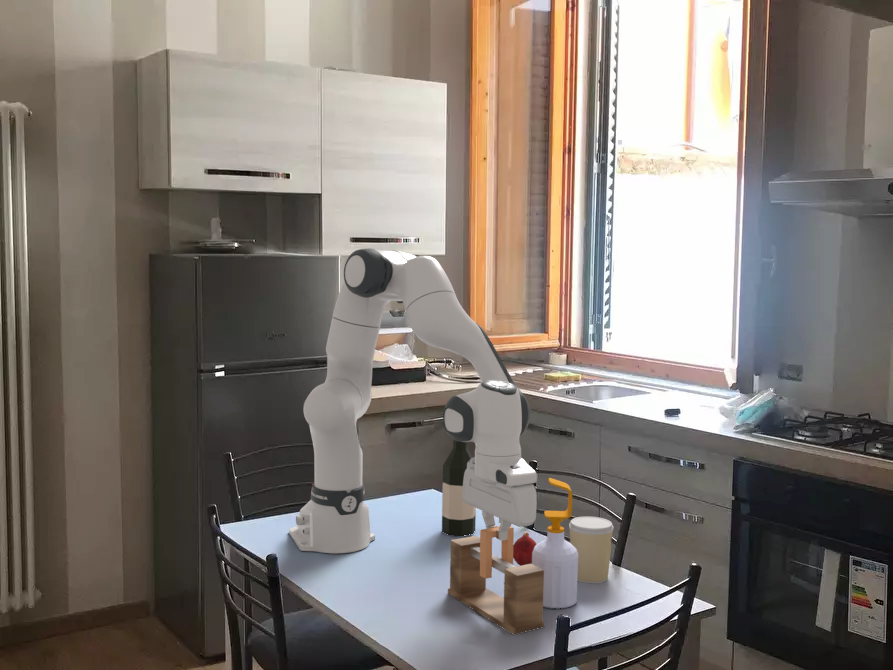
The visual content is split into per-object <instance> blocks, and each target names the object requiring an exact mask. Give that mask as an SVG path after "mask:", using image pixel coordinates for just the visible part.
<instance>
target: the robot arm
mask: <svg viewBox="0 0 893 670" xmlns="http://www.w3.org/2000/svg"><path fill="white" fill-rule="evenodd" d="M345 261H346V262H345V264H344V267H343V283H342V285H341V288H340V291H339V292H338V295H337V298H336V302H335V304H334V308H333V312H332V317H331V322H330V326H329V332H328V335H327V336H328V337H327V341H326V345H325V353H326V357H327V358H326V359H327V366H326V368H327V370H326V371H327V372H326V377H325V381H324V382H323V383H321V384H319V385H317V386H315V387H314V388H313V389H312V390H311V391H310V393H309V394H308V396H307V397H306V399H305V400H304V403H303V408H302V409H303V411H302V412H303V417H304V418H305V421H306V422H307V424H308V426H309V430H310V436H311V440H312V446H313V452H314V453H313V454H314V455H313V456H314V457H313V458H314V460H313V461H314V483H311V486H312V487H311V492H310V500H309V501H308V502H307V503H306V504H305V505H304V506H302V508H300V510H299V512H298V513H299V514H298V515H296V516H295V522H296V523H295V524H296V525H295V526H293V527H290V528H289V530H288V531H289V532H288V533H289V535H290V536H291V538H292V540H293V541H294V543H295V544H296V546H297V547H298V549H299V550H300V551H303V552H318V553H324V554H345V553H346V554H347V553H354V552H358V551H360V550H361V551H362V550H363V549H365V548H367V547H368V546H369V545H370V543H371V542H372V541H374V540H375V539H376V535H375V533H373V532H371V523H370V510H369V508H370V507H369V506H368V504H367V503H365V502H364V500H365V494H366V493H365V485H364V483H363V456H364V455H363V450H362V448H361V445H360V442H359V436H358V432H357V420H358V419H360V418H361V417H363V416H364V414H366V412H367V411H368V409H369V407H370V405H371V402H372V380H373V363H374V357H375V352H376V348H377V343H378V337H379V333H380V330H381V323H382V318H383V315H384V314H383V313H384V309H385V307H386V305H388V304H389V303H390V302H397V303H396V304H403V306H404V307H403V308H404V310H405V313H406V317H407V319H408V322H409V325H410V328H411V329H412V331H413V333H414V335H415V336H416V337H417V338H418V339H419V340H420V341H421V342H423V343H424V344H426V345H428V346H431V347H434V348H437V349H441V350H445V351H449V352H451V353H454V354H456V355H458V356H460V357H462V358H464V359H466V360H467V361H468V362H470V364H471V365H472V366H473V368H474V369H475V372H476V373H477V374H478V377H479V379H480V381H481V382H480V383H479V384H478V385H477V387H476V388H474V389H472V390H471V391H466V392H464V393H459V394H457V395H456V394H455V395H453V396H451V397H450V398H449V399H448V400H447V402H446V403H445V406H444V408H443V413H442V415H443V416H442V420H443V421H442V422H443V423H442V425H443V427H444V430H445V432H446V433H447V435H449V437H450V438H452V439H454V440H455V441H460V442H467V443H470V442H472V443H474V444H475V449H474V457H473V458H471V459H470V460H469V462H468V463H467V469H466V470H465V473H464V479H463V489H462V497H463V500H464V502H465V503H466V504H469V505H471V506H473V507H475V508H476V509H477V510H478V509H479V511H482V514H481V515H482V519H483V522H484V524H485V525H484V526H485V529H488V528H494V527H499V526H500V527H499V530H496V537H495V538H496V539H497V540H500V541H501V542H502V541H503V540H507V538H508V530H509V528H510V526H511V527H512V525H513V526H516V527H518V528H522V527H528V526H531V525H533V524H534V523H535V521H536V518H537V505H538V504H537V500H538V499H537V489H536V487H535V485H534V484H535V483H537V481H538V473H537V472H536V470H535V469H533V467H531V466H530V465H529V464H528V463H527V462H526V460H525V459H524V458H523V457H522V446H521V444H520V437H521V436H522V435H523V434H524V433H525V431H526V429H527V428H528V426H529V424H530V420H531V418H532V411H531V406H530V403H529V402H528V398H526V396H525V395H524V393H523V391H521V390H520V388H519V387H518V386H517V384H516V383H515V382H514V381H513V378H512V377H511V375H510V373H509V372H508V369H507V368H506V366H505V364H504V362H503V360H502V359H501V357H500V355H499V354H498V351H497V349H496V348H495V346H494V344H493V342H492V341H491V339H490V338H489V336H488V334H487V333H486V332H485V330H484V328H483V327H482V326H481V325H480V324H478V323H477V322H476V321H474V320H473V318H471V317H470V316H469V314H467V311H465V309H464V308H463V306H462V305H461V304H460V302H459V300H458V298H457V294H456V292H455V289H454V287H453V284H452V283H451V281H450V278H449V276H448V275H447V274H446V272H445V270H444V268H443V266H442V265H441V263H440V262H439V261H438V260H437V259H436V258H435V257H432V256H430V255H429V256H428V255H418V254H411V253H408V252H404V251H399V250H393V249H391V250H388V249H387V250H386V249H385V250H384V249H375V248H361V249H357V250H354V251H353V252H352V253H351V254H350V255H349V256H348V258H347V259H346V260H345ZM495 518H498V523H499V524H500V525H499V526H498V525H496V520H495Z"/></svg>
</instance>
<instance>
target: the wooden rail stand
mask: <svg viewBox="0 0 893 670" xmlns="http://www.w3.org/2000/svg"><path fill="white" fill-rule="evenodd" d="M449 558H450V559H449V560H450V562H449V563H450V565H449V570H450V571H449V573H450V574H449V588H447V594H448V595H449V596H451V597H453V598H454V599H456V600H457V599H458V601H459V600H460V601H459V602H460V603H462V602H463V603H462V604H464V605H465V604H467V605H468V606H467V605H466V606H467V607H469V608H470V607H471V608H470V609H472V608H473V609H474V611H475V610H476V611H477V613H478V612H479V613H478V614H480V615H481V614H482V616H483V615H484V616H485V618H486V617H487V618H486V619H488V618H489V619H490V620H489V619H488V620H489V621H491V620H492V621H493V622H492V621H491V622H492V623H494V622H495V623H494V624H496V625H497V624H498V625H497V626H498V627H500V626H501V628H502V627H503V628H504V629H503V628H502V629H503V630H505V631H506V632H508V631H509V632H508V633H510V632H511V633H513V634H515V635H518V634H517V633H519V634H522V633H521V632H523V633H526V632H525V631H527V632H530V631H529V630H531V631H534V630H533V629H535V630H538V629H537V628H539V629H542V628H541V627H543V628H545V626H546V625H545V623H546V622H545V621H544V620H543V615H544V613H543V611H544V607H543V585H544V570H543V569H541V568H539V567H537V566H535V565H533V564H527V565H522V566H520V565H518V566H516V565H514V564H513V565H512V564H510V563H508V562H507V561H505V560H503V559H501V557H499V556H497V555H495V554H493V553H492V569H495V570H497V571H499V572H501V573H502V574H504V576H503V577H504V578H503V579H504V580H503V581H504V582H503V583H504V584H503V586H504V587H503V588H504V589H503V596H500V595H499V594H497V593H496V592H494V591H492V590H490V589H489V588H487V586H486V584H487V579H485V578H483V577H481V576H480V536H477V535H471V536H465V537H460V538H456V539H451V540H450V556H449ZM473 609H472V610H473ZM476 611H475V612H476ZM484 616H483V617H484ZM511 633H510V634H511ZM513 634H512V635H513Z"/></svg>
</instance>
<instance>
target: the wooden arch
mask: <svg viewBox="0 0 893 670" xmlns="http://www.w3.org/2000/svg"><path fill="white" fill-rule="evenodd" d="M499 527H500V525H499V526H498V527H494V528H488V529H486V528H484V529H480V530H479V532H480V533H479V538H480V576H481V577H483V578H485V579H486V580H487V579H491V578H492V576H493V573H492V572H493V571H492V570H493V567H492V554H493V539H494V538H496V530H499ZM514 530H515V528H514V527H513V526H512V525H511V526H510V528H509V530H508V538H507V540H503V541H501V548H500V549H501V550H500V551H501V553H500V554H501V557H500V558H501V559H503V560H505V561H507V562H508V563H510V564H512V565H514V558H513V545H514V541H515V540H514V537H515V536H514V533H515V531H514Z"/></svg>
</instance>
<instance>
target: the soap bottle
mask: <svg viewBox="0 0 893 670" xmlns="http://www.w3.org/2000/svg"><path fill="white" fill-rule="evenodd" d="M547 481H548V483H549V484H550V485H551V486H554V487H557V488H559V489H562V490H565V491H567V492H568V494H567V495H568V498H567V499H568V500H567V508H566V510H545V511H544V512H543V515H544V517H545V519H548V520H549V521H550V522H551V525H549V526H547V529H546V531H547V533H546V534H547V536H546V539H543V540H541V541H540V542H538V543H536V544H537V545H536V546H535V547H534V549H533V552H532V564H533V565H535V566H537V567H539V568H541V569H543V570H544V585H543V608H547V609H552V608H556V609H557V610H560V608H561V609H566V608H569V607H572V606H575V604H577V600H578V598H577V597H578V581H577V576H578V552H577V549H576V548H575V547H574V546H573V545H572V544H571V543H570V541H567V540H566V539H565V527H563V526H561V523H562V522H564V520H567V519H569V518H571V517H572V514H573V492H572V489H571V486H570V485H569V484H568V483H566V482H564V481H561V480H558V479H556V478H553V477H549V478H548V479H547Z"/></svg>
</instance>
